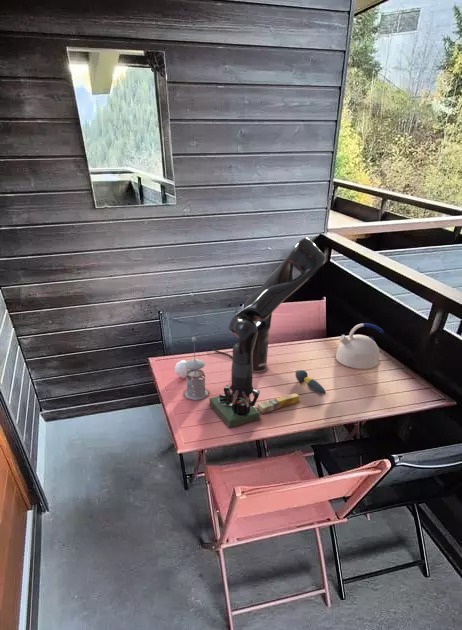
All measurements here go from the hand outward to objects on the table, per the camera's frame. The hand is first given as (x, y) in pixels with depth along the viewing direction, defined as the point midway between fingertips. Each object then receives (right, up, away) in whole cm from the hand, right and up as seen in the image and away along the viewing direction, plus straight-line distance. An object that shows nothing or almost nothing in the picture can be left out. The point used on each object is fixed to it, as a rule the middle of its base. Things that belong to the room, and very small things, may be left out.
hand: (241, 412), depth 167 cm
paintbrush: (+30, +13, +24) cm, 41 cm away
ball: (-25, +17, +29) cm, 42 cm away
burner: (-4, +5, +7) cm, 10 cm away
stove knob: (0, 0, 0) cm, 0 cm away
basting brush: (+15, +3, +10) cm, 19 cm away
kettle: (+57, +28, +44) cm, 77 cm away
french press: (-19, +9, +18) cm, 28 cm away
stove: (-3, +1, +6) cm, 7 cm away
